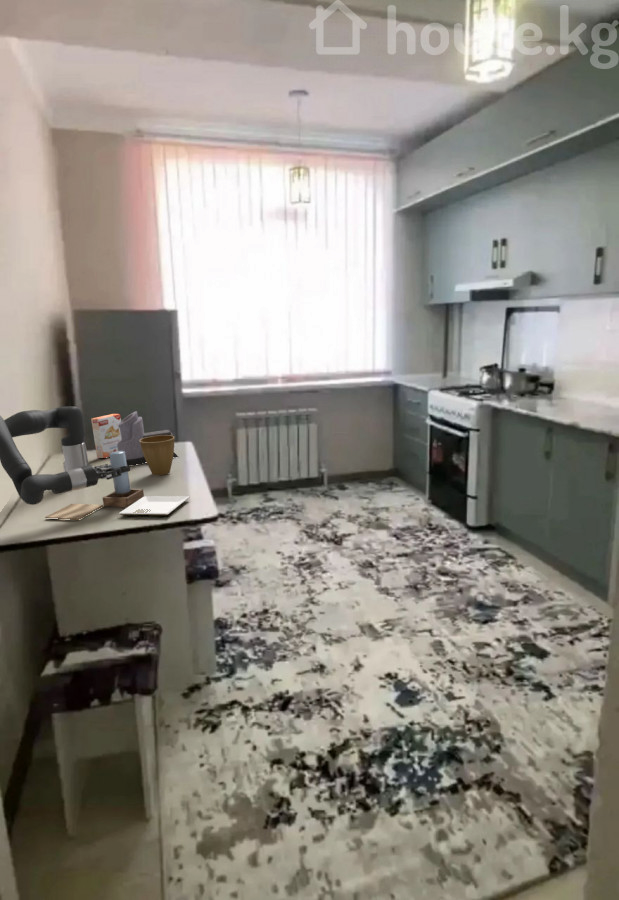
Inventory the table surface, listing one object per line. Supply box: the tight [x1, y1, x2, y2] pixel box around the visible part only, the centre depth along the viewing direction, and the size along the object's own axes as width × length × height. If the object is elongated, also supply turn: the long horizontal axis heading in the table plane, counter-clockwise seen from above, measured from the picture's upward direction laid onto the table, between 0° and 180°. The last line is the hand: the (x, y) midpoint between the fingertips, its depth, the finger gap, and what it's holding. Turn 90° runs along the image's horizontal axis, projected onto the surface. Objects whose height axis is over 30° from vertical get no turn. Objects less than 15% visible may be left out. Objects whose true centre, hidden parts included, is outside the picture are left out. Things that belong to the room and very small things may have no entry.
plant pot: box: [139, 435, 175, 476], centre depth 251 cm, size 15×15×16 cm
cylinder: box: [109, 451, 132, 494], centre depth 213 cm, size 6×6×15 cm
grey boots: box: [117, 410, 179, 466], centre depth 277 cm, size 30×16×24 cm, turn 113°
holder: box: [102, 488, 145, 508], centre depth 215 cm, size 11×11×4 cm
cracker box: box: [90, 413, 122, 459], centre depth 292 cm, size 14×6×21 cm, turn 148°
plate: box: [118, 495, 191, 517], centre depth 205 cm, size 19×19×2 cm
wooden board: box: [44, 503, 104, 520], centre depth 207 cm, size 14×14×1 cm
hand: (125, 466), depth 214 cm, fingers closed on cylinder, 5 cm apart
